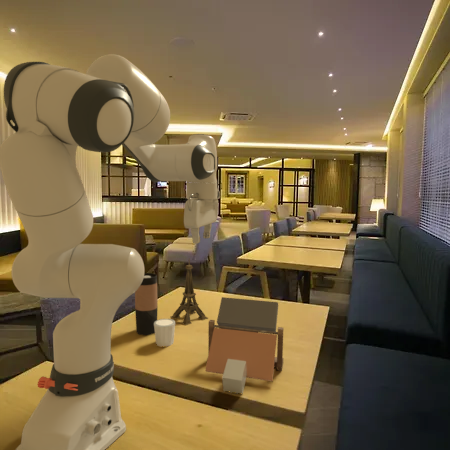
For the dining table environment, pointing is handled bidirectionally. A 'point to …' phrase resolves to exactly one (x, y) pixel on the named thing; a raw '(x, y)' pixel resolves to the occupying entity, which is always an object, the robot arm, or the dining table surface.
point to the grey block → (234, 376)
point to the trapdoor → (245, 337)
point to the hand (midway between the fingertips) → (201, 240)
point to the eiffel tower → (189, 300)
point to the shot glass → (164, 332)
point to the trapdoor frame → (279, 358)
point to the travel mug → (146, 305)
